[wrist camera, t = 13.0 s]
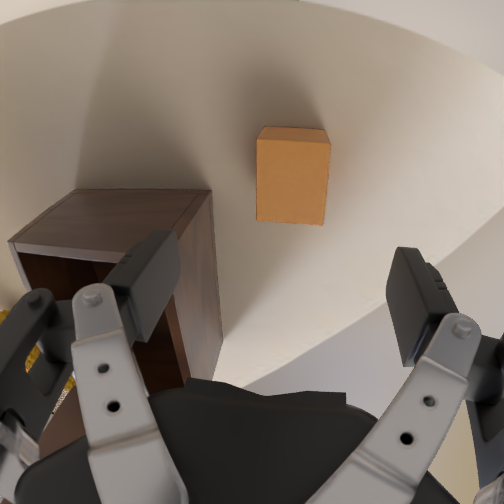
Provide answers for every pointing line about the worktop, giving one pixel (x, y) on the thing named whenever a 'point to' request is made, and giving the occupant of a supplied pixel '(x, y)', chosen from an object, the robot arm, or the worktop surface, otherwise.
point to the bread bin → (114, 248)
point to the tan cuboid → (292, 175)
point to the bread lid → (61, 427)
